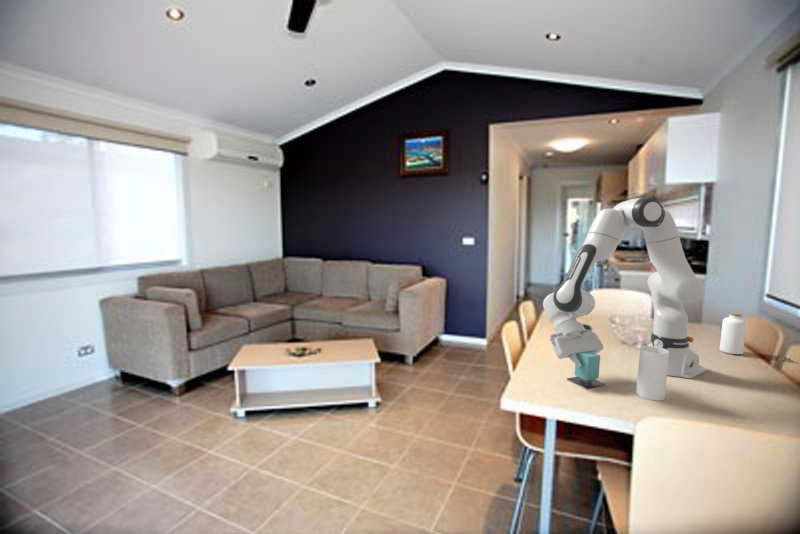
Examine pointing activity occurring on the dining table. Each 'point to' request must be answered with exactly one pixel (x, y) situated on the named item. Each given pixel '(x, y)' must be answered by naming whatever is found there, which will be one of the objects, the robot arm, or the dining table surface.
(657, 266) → the robot arm
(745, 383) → the dining table surface
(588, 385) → the post
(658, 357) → the cup
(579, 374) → the teal rectangular block
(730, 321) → the potion bottle
